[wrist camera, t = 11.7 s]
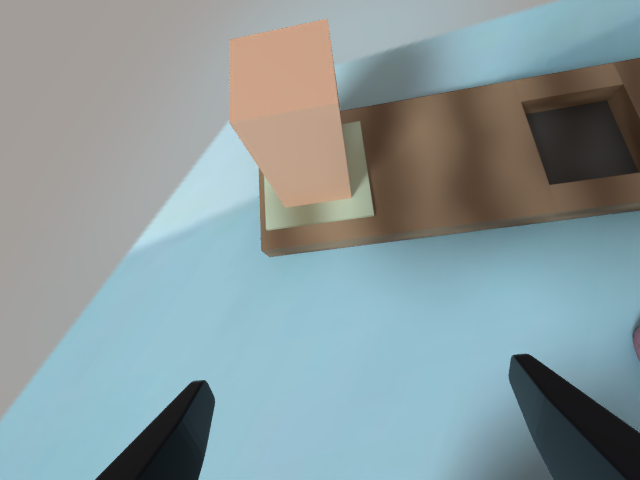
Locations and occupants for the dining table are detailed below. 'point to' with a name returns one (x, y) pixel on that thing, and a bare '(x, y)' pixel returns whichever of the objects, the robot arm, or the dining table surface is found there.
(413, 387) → the dining table surface
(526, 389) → the robot arm
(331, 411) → the dining table surface
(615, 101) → the board
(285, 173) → the block
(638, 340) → the video game controller
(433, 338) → the dining table surface
